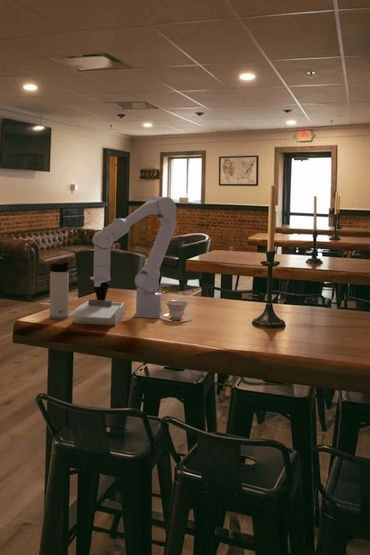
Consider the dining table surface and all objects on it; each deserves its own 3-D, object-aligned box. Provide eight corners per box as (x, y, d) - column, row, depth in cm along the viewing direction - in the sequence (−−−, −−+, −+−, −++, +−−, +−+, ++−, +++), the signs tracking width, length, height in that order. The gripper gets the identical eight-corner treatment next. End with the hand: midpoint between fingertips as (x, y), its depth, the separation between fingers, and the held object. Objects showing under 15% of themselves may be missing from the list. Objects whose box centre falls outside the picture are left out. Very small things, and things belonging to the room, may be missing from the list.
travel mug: (64, 320, 183) (65, 263, 180) (46, 318, 185) (47, 261, 181) (71, 316, 189) (72, 261, 186) (54, 314, 191) (55, 259, 187)
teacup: (188, 324, 187) (189, 307, 186) (155, 321, 189) (156, 304, 188) (195, 316, 198) (195, 300, 197) (164, 314, 201) (164, 298, 200)
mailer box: (124, 313, 198) (124, 303, 197) (115, 325, 180) (115, 313, 179) (87, 311, 198) (87, 300, 198) (74, 323, 181) (74, 311, 180)
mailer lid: (120, 307, 188) (120, 300, 188) (109, 319, 170) (110, 311, 170) (82, 305, 189) (82, 298, 189) (67, 316, 171) (67, 309, 170)
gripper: (95, 262, 194) (94, 298, 196) (85, 267, 179) (84, 307, 182) (114, 263, 193) (113, 299, 195) (106, 268, 179) (105, 308, 181)
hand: (101, 303), depth 188 cm, fingers closed
